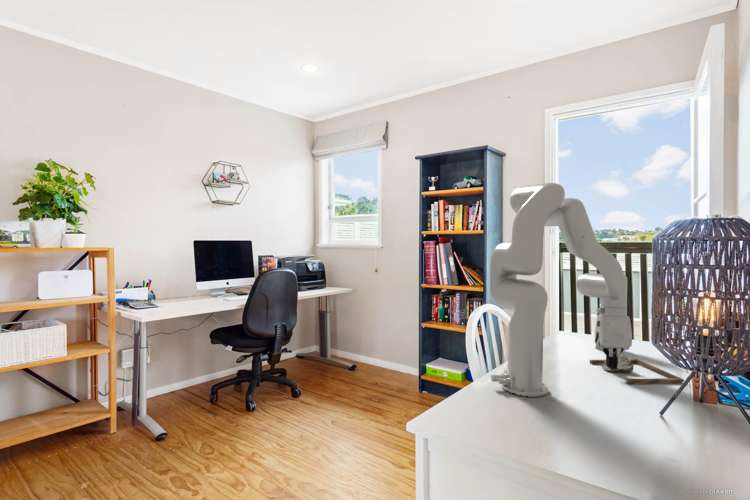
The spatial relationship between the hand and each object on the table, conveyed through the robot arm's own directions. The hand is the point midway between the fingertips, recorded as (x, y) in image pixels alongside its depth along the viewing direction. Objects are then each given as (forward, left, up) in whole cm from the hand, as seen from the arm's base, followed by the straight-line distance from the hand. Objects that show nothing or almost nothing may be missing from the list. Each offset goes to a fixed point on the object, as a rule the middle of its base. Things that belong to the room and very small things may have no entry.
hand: (611, 367), depth 132 cm
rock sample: (+3, +2, -2) cm, 5 cm away
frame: (+7, 0, -2) cm, 7 cm away
